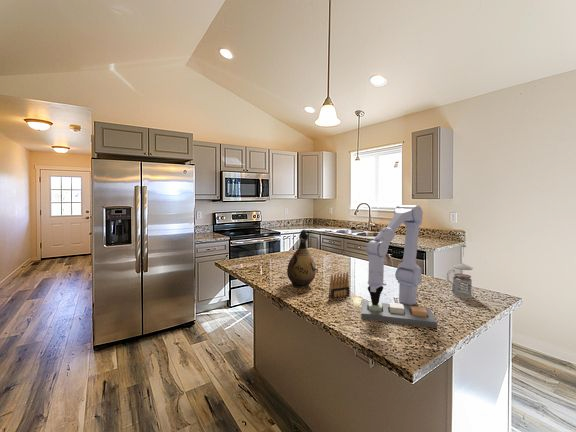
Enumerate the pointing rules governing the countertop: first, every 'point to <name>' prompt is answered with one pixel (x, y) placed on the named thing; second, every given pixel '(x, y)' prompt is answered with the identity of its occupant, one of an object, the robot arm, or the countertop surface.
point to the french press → (461, 281)
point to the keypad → (398, 316)
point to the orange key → (418, 311)
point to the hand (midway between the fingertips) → (375, 304)
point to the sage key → (375, 307)
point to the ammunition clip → (339, 286)
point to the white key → (396, 308)
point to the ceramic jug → (301, 265)
